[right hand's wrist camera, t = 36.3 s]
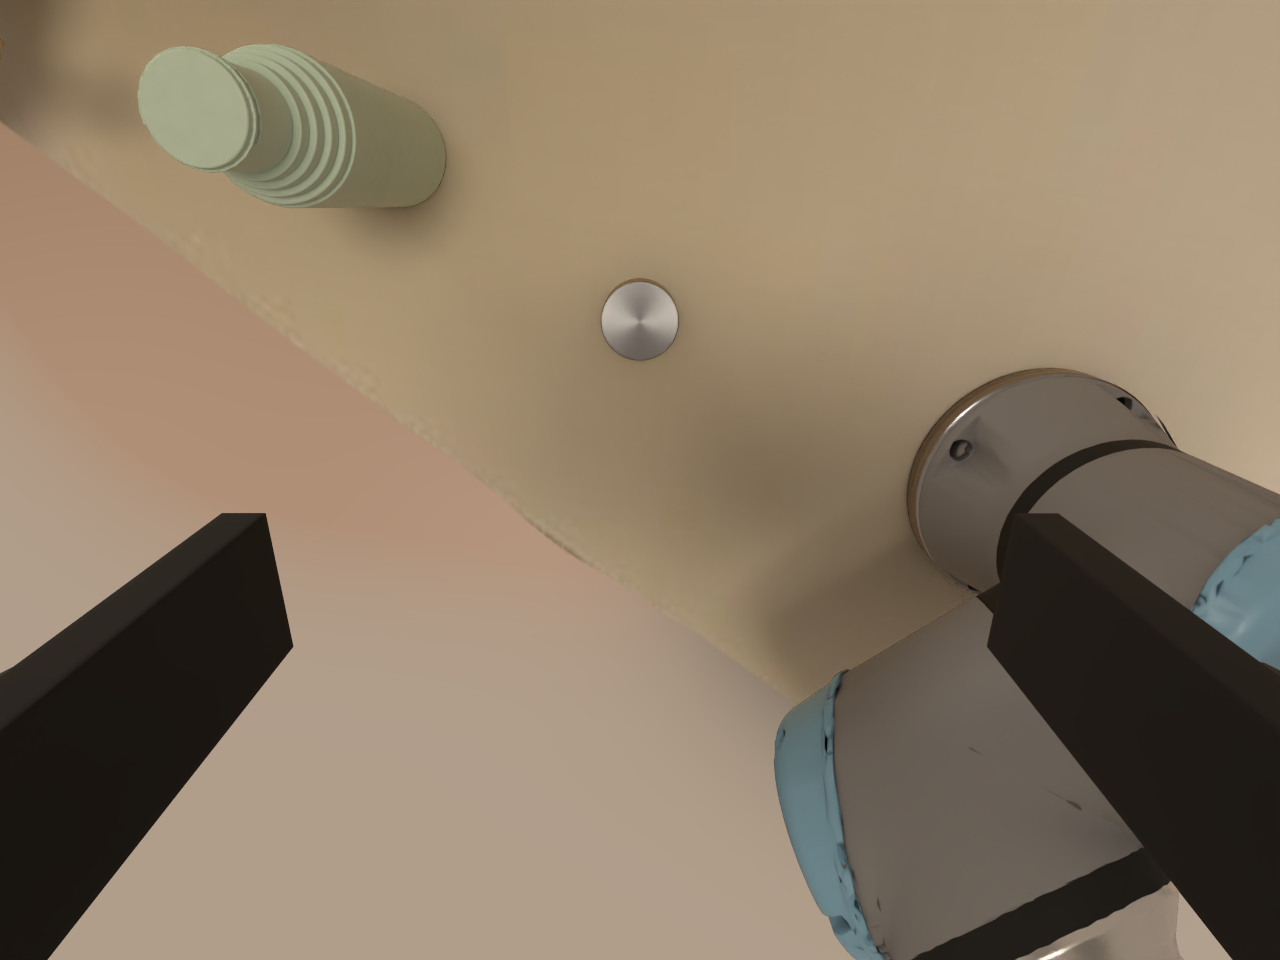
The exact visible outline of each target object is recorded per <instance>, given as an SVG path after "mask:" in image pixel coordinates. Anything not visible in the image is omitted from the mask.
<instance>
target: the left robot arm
mask: <svg viewBox="0 0 1280 960" xmlns="http://www.w3.org/2000/svg"><path fill="white" fill-rule="evenodd" d="M2 46H3V41H2V40H1V39H0V57H1V52H2Z"/></svg>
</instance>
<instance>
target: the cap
mask: <svg viewBox="0 0 1280 960" xmlns="http://www.w3.org/2000/svg"><path fill="white" fill-rule="evenodd" d="M678 323H679V319H678V312H677V308H676V305H675V303H674V300H673V298H672V296H671V295H670V293H669V292H668V291H667V290H666V289H665V288H664V287H663V286H661V285H660V284H659V283H657V282H655V281H652V280H649V279H642V278H638V279H631V280H628V281H625V282H623V283H621V284H620V285H618V286H617V287H616V288H615V289H614V290H613V291H612V292H611V293H610V294H609V296H608V298H607V300H606V302H605V305H604V307H603V311H602V316H601V327H602V332H603V335H604V337H605V339H606V341H607V343H608V344H609V346H610V347H611V348H612V349H613V350H614V351H615V352H617V353H618V354H620V355H621V356H623V357H625V358H628V359H632V360H648V359H651V358H654V357H656V356H658V355H660V354H662V353H663V352H664V351H665V350H667V349H668V347H669V346H670V345H671V344H672V342H673V341H674V339H675V337H676V334H677V330H678Z"/></svg>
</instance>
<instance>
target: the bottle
mask: <svg viewBox="0 0 1280 960" xmlns="http://www.w3.org/2000/svg"><path fill="white" fill-rule="evenodd" d="M137 94H138V104H139V108H138V109H139V112H140V115H141V118H142V121H143V124H144V125H145V126H147V128H148V130H149V132H150V133H151V135H152V137H153V138H154V139H155V141H156V142H157V143H158V144H159V145H160V146H161V148H162V149H163V150H164V151H166V152H167V153H168V154H169V155H170V156H172V157H173V158H175V159H176V160H178V161H180V162H181V163H182V164H184V165H186V166H189V167H191V168H193V169H195V170H199V171H205V172H210V173H214V172H224V174H225V175H226V176H227V177H228V178H229V179H230V180H231V181H232V182H234V183H235V184H236V185H237V186H238V187H239V188H241V189H242V190H244V191H245V192H247V193H248V194H250V195H252V196H254V197H256V198H258V199H261V200H263V201H265V202H268V203H270V204H273V205H277V206H281V207H287V208H358V207H408V206H413V205H416V204H419V203H421V202H423V201H424V200H426V199H427V198H429V197H430V196H431V195H432V194H433V193H434V192H435V190H436V189H437V188H438V186H439V184H440V182H441V180H442V178H443V175H444V171H445V164H446V153H445V146H444V142H443V139H442V136H441V133H440V131H439V129H438V127H437V125H436V124H435V122H434V121H433V120H432V118H431V117H430V116H429V115H428V114H427V113H426V112H425V111H424V110H423V109H422V108H420V107H419V106H418V105H416V104H415V103H413V102H411V101H409V100H407V99H404V98H402V97H400V96H398V95H396V94H393V93H391V92H389V91H387V90H385V89H382V88H380V87H378V86H376V85H374V84H371V83H369V82H367V81H365V80H363V79H360V78H358V77H356V76H354V75H352V74H349V73H347V72H345V71H343V70H340V69H338V68H336V67H334V66H332V65H329V64H327V63H325V62H323V61H321V60H318V59H316V58H314V57H312V56H310V55H307V54H305V53H303V52H301V51H298V50H296V49H293V48H291V47H287V46H283V45H278V44H252V45H247V46H242V47H240V48H237V49H234V50H233V51H231V52H229V53H228V54H226V55H225V56H223V57H220V56H218V55H216V54H214V53H212V52H210V51H206V50H204V49H201V48H195V47H189V46H180V47H172V48H169V49H167V50H165V51H163V52H161V53H159V54H157V55H156V56H155V57H154V58H153V59H152V60H151V61H150V62H149V63H147V65H146V67H145V69H144V71H143V73H142V75H141V77H140V81H139V88H138V92H137Z"/></svg>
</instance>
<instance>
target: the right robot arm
mask: <svg viewBox="0 0 1280 960" xmlns="http://www.w3.org/2000/svg"><path fill="white" fill-rule="evenodd" d="M1156 416H1157V415H1156ZM1157 418H1158V417H1157ZM1158 419H1159V418H1158ZM1159 421H1160V423H1161V424H1162V426H1163V428H1164V430H1165V431H1166V433H1167V435H1168V436H1167V435H1166V434H1165V432H1164V431H1163V430H1162V429H1161V427H1160V426H1159V425H1158V423H1157V422H1156V421H1155V420H1154V418H1153V417H1152V416H1151V414H1150V413H1149V411H1148V410H1147V409H1146V408H1145V407H1144V405H1143V404H1142V403H1141V402H1139V401H1138V400H1137V399H1136V398H1135V397H1134V396H1132V395H1131V394H1130V393H1128V392H1127V391H1125V390H1124V389H1122V388H1120V387H1118V386H1116V385H1114V384H1111V383H1109V382H1106V381H1104V380H1101V379H1099V378H1096V377H1093V376H1091V375H1088V374H1085V373H1081V372H1078V371H1073V370H1067V369H1055V368H1046V369H1034V370H1027V371H1022V372H1018V373H1014V374H1011V375H1007V376H1004V377H1001V378H999V379H997V380H994V381H992V382H990V383H988V384H986V385H984V386H982V387H980V388H978V389H977V390H975V391H973V392H972V393H970V394H969V395H967V396H966V397H965V398H963V399H962V400H961V401H959V402H958V403H957V404H956V405H954V406H953V407H952V408H951V409H950V410H949V411H948V412H947V413H946V414H945V415H944V416H943V417H942V418H941V419H940V420H939V421H938V423H937V424H936V425H935V426H934V428H933V429H932V430H931V432H930V433H929V435H928V436H927V438H926V439H925V441H924V443H923V445H922V446H921V448H920V450H919V452H918V455H917V457H916V459H915V462H914V465H913V468H912V471H911V475H910V480H909V486H908V512H909V518H910V522H911V526H912V528H913V531H914V534H915V536H916V538H917V540H918V542H919V544H920V545H921V547H922V548H923V550H924V551H925V552H926V554H927V555H928V556H929V557H930V558H931V560H932V561H933V562H934V563H935V564H936V566H937V567H938V568H939V569H940V570H941V571H942V572H943V573H944V574H945V575H946V576H947V577H948V578H949V579H951V580H952V581H953V582H955V583H956V584H958V585H959V586H961V587H963V588H964V589H966V590H969V591H971V592H973V593H976V594H978V596H975V597H973V598H972V599H970V600H968V601H966V602H965V603H963V604H961V605H960V606H958V607H956V608H955V609H953V610H951V611H950V612H948V613H946V614H945V615H943V616H941V617H940V618H938V619H936V620H935V621H933V622H931V623H930V624H928V625H926V626H925V627H923V628H921V629H920V630H918V631H916V632H914V633H913V634H911V635H909V636H908V637H906V638H904V639H903V640H901V641H899V642H898V643H896V644H894V645H893V646H891V647H889V648H888V649H886V650H884V651H883V652H881V653H879V654H878V655H876V656H874V657H873V658H871V659H869V660H868V661H866V662H864V663H862V664H861V665H859V666H857V667H856V668H854V669H852V670H848V669H846V670H843V671H841V672H839V673H838V674H837V675H835V676H834V678H833V680H832V681H831V683H829V684H828V685H826V686H825V687H823V688H822V689H820V690H819V691H817V692H816V693H815V694H813V695H812V696H810V697H809V698H807V699H806V700H804V701H803V702H801V703H800V704H798V705H797V706H795V707H794V708H793V709H792V710H790V711H789V712H788V714H787V715H786V716H785V717H784V719H783V720H782V722H781V724H780V726H779V729H778V732H777V736H776V741H775V758H774V769H775V779H776V785H777V791H778V797H779V801H780V806H781V810H782V814H783V818H784V821H785V825H786V828H787V831H788V835H789V838H790V841H791V844H792V847H793V849H794V852H795V855H796V858H797V860H798V863H799V866H800V868H801V871H802V873H803V875H804V878H805V880H806V883H807V885H808V887H809V889H810V891H811V893H812V896H813V898H814V900H815V902H816V904H817V906H818V907H819V909H820V911H821V912H822V913H823V914H824V915H826V916H828V917H829V920H830V923H831V926H832V929H833V931H834V934H835V936H836V937H837V939H838V940H839V942H840V943H841V944H842V946H843V947H844V948H845V950H846V951H847V952H848V953H849V954H850V955H851V956H852V957H853V958H855V959H856V960H1183V959H1182V957H1181V956H1180V953H1179V951H1178V946H1177V942H1176V925H1177V912H1178V899H1179V892H1180V893H1181V895H1182V896H1183V897H1184V898H1185V900H1186V901H1187V902H1188V904H1189V905H1190V906H1191V907H1192V909H1193V910H1194V911H1195V912H1196V914H1197V915H1198V916H1199V918H1200V919H1201V920H1202V921H1203V923H1204V924H1205V925H1206V926H1207V928H1208V929H1209V930H1210V932H1211V933H1212V934H1213V935H1214V937H1215V938H1216V939H1217V940H1218V942H1219V943H1220V944H1221V946H1222V947H1223V948H1224V949H1225V951H1226V952H1227V953H1228V954H1229V956H1230V957H1231V958H1232V960H1280V494H1277V493H1275V492H1273V491H1270V490H1268V489H1266V488H1264V487H1261V486H1259V485H1257V484H1255V483H1252V482H1250V481H1248V480H1246V479H1243V478H1241V477H1239V476H1236V475H1234V474H1232V473H1230V472H1227V471H1225V470H1223V469H1221V468H1218V467H1216V466H1214V465H1212V464H1209V463H1207V462H1205V461H1202V460H1200V459H1198V458H1196V457H1193V456H1191V455H1188V454H1186V453H1184V452H1182V451H1180V450H1178V448H1177V446H1176V445H1175V443H1174V441H1173V439H1172V438H1171V436H1170V434H1169V433H1168V431H1167V429H1166V427H1165V426H1164V424H1163V423H1162V422H1161V420H1160V419H1159ZM1169 438H1170V439H1169ZM292 648H293V643H292V638H291V633H290V628H289V623H288V619H287V614H286V609H285V604H284V599H283V595H282V590H281V585H280V580H279V575H278V571H277V566H276V561H275V556H274V552H273V547H272V542H271V537H270V532H269V527H268V523H267V518H266V513H222V514H220V515H219V516H218V517H216V518H215V519H213V520H212V521H211V522H209V523H208V524H207V525H205V526H204V527H203V528H201V529H200V530H198V531H197V532H196V533H194V534H193V535H192V536H190V537H189V538H188V539H186V540H185V541H184V542H182V543H181V544H180V545H178V546H177V547H175V548H174V549H173V550H171V551H170V552H169V553H167V554H166V555H165V556H163V557H162V558H161V559H159V560H158V561H156V562H155V563H154V564H152V565H151V566H150V567H148V568H147V569H146V570H144V571H143V572H142V573H140V574H139V575H137V576H136V577H135V578H133V579H132V580H131V581H129V582H128V583H127V584H125V585H124V586H122V587H121V588H120V589H118V590H117V591H116V592H114V593H113V594H112V595H110V596H109V597H107V598H106V599H105V600H103V601H102V602H101V603H99V604H98V605H97V606H95V607H94V608H93V609H91V610H90V611H89V612H87V613H86V614H84V615H83V616H82V617H80V618H79V619H78V620H76V621H75V622H74V623H72V624H71V625H70V626H68V627H67V628H65V629H64V630H63V631H61V632H60V633H59V634H57V635H56V636H55V637H53V638H52V639H51V640H49V641H48V642H46V643H45V644H44V645H42V646H41V647H40V648H38V649H37V650H36V651H34V652H33V653H31V654H30V655H29V656H27V657H26V658H25V659H23V660H22V661H21V662H19V663H18V664H17V665H15V666H14V667H12V668H10V669H8V670H6V671H4V672H2V673H0V960H48V958H49V957H50V956H51V954H52V953H53V952H54V951H55V949H56V948H57V947H58V946H59V944H60V943H61V942H62V940H63V939H64V938H65V937H66V935H67V934H68V933H69V932H70V930H71V929H72V928H73V926H74V925H75V924H76V923H77V921H78V920H79V919H80V918H81V916H82V915H83V914H84V912H85V911H86V910H87V909H88V907H89V906H90V905H91V904H92V902H93V901H94V900H95V898H96V897H97V896H98V895H99V893H100V892H101V891H102V890H103V888H104V887H105V886H106V884H107V883H108V882H109V881H110V879H111V878H112V877H113V875H114V874H115V873H116V872H117V870H118V869H119V868H120V867H121V865H122V864H123V863H124V861H125V860H126V859H127V858H128V856H129V855H130V854H131V853H132V851H133V850H134V849H135V847H136V846H137V845H138V844H139V842H140V841H141V840H142V839H143V837H144V836H145V835H146V834H147V832H148V831H149V830H150V828H151V827H152V826H153V825H154V823H155V822H156V821H157V819H158V818H159V817H160V816H161V814H162V813H163V812H164V811H165V809H166V808H167V807H168V806H169V804H170V803H171V802H172V800H173V799H174V798H175V797H176V795H177V794H178V793H179V791H180V790H181V789H182V788H183V786H184V785H185V784H186V783H187V781H188V780H189V779H190V777H191V776H192V775H193V774H194V772H195V771H196V770H197V769H198V767H199V766H200V765H201V763H202V762H203V761H204V760H205V758H206V757H207V756H208V755H209V753H210V752H211V751H212V749H213V748H214V747H215V746H216V744H217V743H218V742H219V741H220V739H221V738H222V737H223V735H224V734H225V733H226V732H227V730H228V729H229V728H230V726H231V725H232V724H233V723H234V721H235V720H236V719H237V718H238V716H239V715H240V714H241V713H242V711H243V710H244V709H245V707H246V706H247V705H248V704H249V702H250V701H251V700H252V699H253V697H254V696H255V695H256V693H257V692H258V691H259V690H260V688H261V687H262V686H263V685H264V683H265V682H266V681H267V679H268V678H269V677H270V676H271V674H272V673H273V672H274V671H275V669H276V668H277V667H278V665H279V664H280V663H281V662H282V660H283V659H284V658H285V657H286V655H287V654H288V653H289V651H290V650H291V649H292Z"/></svg>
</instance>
